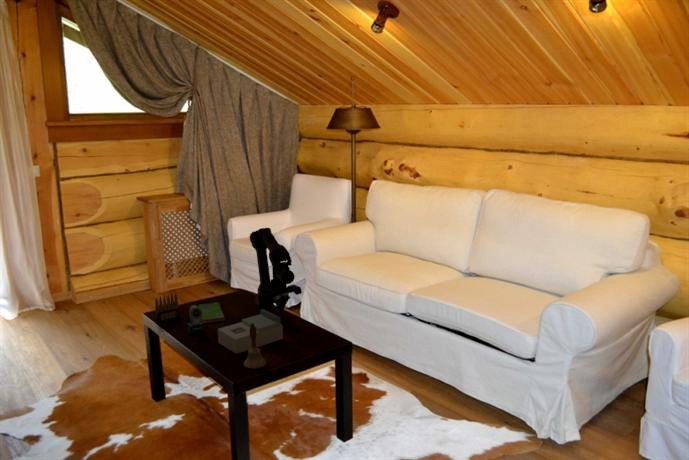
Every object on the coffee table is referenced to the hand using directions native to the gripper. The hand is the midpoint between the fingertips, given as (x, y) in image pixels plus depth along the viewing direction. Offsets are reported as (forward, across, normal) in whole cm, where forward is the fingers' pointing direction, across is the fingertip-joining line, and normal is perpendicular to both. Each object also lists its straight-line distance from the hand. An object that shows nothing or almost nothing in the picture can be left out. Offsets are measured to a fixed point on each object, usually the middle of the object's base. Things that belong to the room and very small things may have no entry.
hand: (280, 312), depth 243 cm
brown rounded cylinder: (+8, +20, 0) cm, 22 cm away
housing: (+8, +15, 0) cm, 17 cm away
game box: (+9, +13, -38) cm, 41 cm away
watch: (+8, +27, -25) cm, 38 cm away
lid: (+2, +10, 0) cm, 10 cm away
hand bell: (+9, +25, +19) cm, 33 cm away
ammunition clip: (+9, +31, -44) cm, 55 cm away
